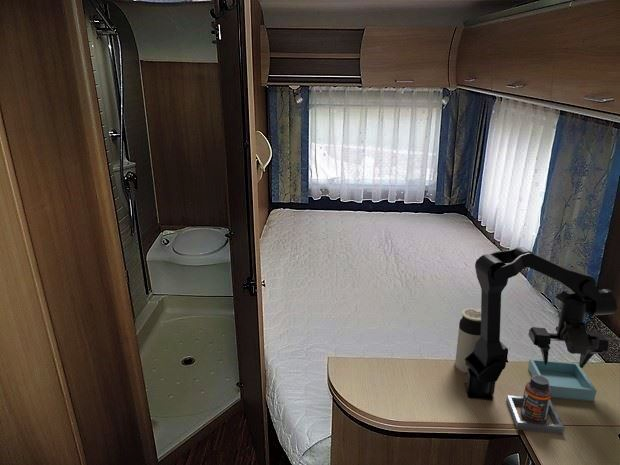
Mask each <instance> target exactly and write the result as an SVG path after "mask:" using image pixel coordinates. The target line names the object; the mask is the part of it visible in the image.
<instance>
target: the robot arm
mask: <svg viewBox="0 0 620 465" xmlns="http://www.w3.org/2000/svg"><path fill="white" fill-rule="evenodd" d="M474 268H475V273H476V274H475V275H476V278H477V281H478V284H479V285H480V288H481V290H480V291H481V295H480V296H481V297H480V298H481V301H480V304H481V306H480V310H481V336H480V338H479V340H478V341H477V342H476V345H475V350H474V351H473V352H472V353H471V354H470V355H469V356H467V357H466V358H465V363H466V365H467V366H468V367H469V368H468V373H467V375H466V381H465V383H464V387H465V391H466V392H465V393H466V395H467V398H469V399H475V400H485V401H493V400H494V397H493V395H494V393H495V387H496V382H498V380H499V378H500V376H501V373H503V370H505V368H506V367H507V366H506V365H507V363H509V360H508V354H509V349H508V347H507V346H506V345H505V344H504V343H503V342H502V341H501V316H502V315H501V314H502V312H501V311H502V292H503V291H504V289H505V288H506V286H507V285H508V282H509V279H511V278H512V277H513V278H514V277H516V276H517V275H519V274H520V273H521V271H522V270H524V269H526V268H529V269H532V270H534V271H536V272H538V273H540V274H542V275H544V276H546V277H549V278H551V279H553V280H555V281H556V282H557V283H559V284H560V285H562V286H563V287H564V288H566V289H568V290H569V291H571V292H569V293H568V292H567V291H565V290H563V291H562V292H560V293H558V294H556V295H555V297H554V298H555V299H556V300H558V301H560V302H562V303H561V307H560V312H559V313H558V314H557V318H558V323H557V326H555V331H556V333H555V332H553V333H552V332H548V331H547V329H546V328H545V327H538V326H537V327H534V326H531V328H530V329H529V330H528V336H529V338H530V341H531V342H532V344H533V345H535V347H536V346H537V348H539V349H540V352H541V355H542V356H541V357H542V360H543V361H544V364H545V365H547V362H548V360H549V353H550V352H549V350H550V349H551V346H550V345H551V341H553V342H564V344H565V346H566V351H567V352H568V353H569V354H572V355H575V354H578V355H579V356H580V357H579V364H578V365H579V366H580V368H581V369H583V368H584V367H585V366H586V364H587V363H588V362H589V360H590V359H591V358H592V357H593V356H594V355H595V354H597V355H598V354H603V353H604V352H609V350H610V346H611V344H610V341H609V340H608V339H607V337H605V336H604V334H603V333H602V332H601V331H600V332H599V331H588V330H587V331H586V325H587V324H586V323H585V318H586V314H587V315H589V316H603V315H613V314H615V313H616V312H617V310H618V304H617V300H616V298H615V297H614V291H613V290H611V289H608V288H603V289H598V287H597V286H596V285H597V284H596V283H597V279H596V278H594V277H593V276H592V275H590V274H588V273H586V272H585V271H582V270H580V269H578V268H576V267H573V266H568V265H560V264H557V263H556V262H553V261H551V260H549V259H546V258H545V257H542V256H541V255H537V254H535V253H534V252H532V251H530V250H529V249H527V248H526V247H522V246H516V247H514V248H511V249H507V250H499V251H495V252H492V253H485V254H483V255H481V256H480V257H479V258H477V259H476V260H475V264H474Z"/></svg>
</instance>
